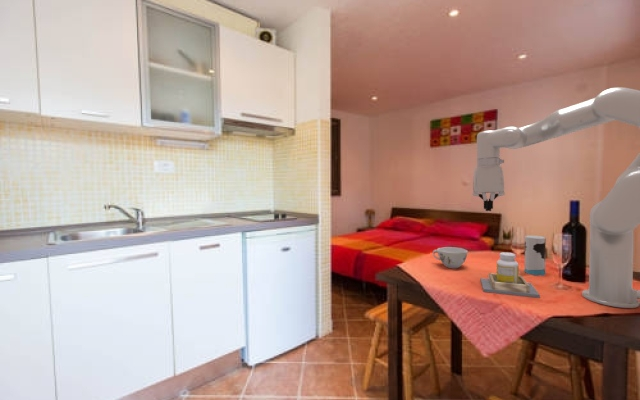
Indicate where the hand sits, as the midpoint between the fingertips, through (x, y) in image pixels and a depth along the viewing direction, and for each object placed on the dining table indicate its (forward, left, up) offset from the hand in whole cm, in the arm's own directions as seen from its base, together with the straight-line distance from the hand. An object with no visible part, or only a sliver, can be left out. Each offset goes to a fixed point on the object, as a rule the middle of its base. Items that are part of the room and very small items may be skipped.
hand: (488, 210), depth 111 cm
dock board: (-5, +9, -27) cm, 29 cm away
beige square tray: (-5, +9, -27) cm, 29 cm away
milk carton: (-18, -14, -27) cm, 36 cm away
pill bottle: (-5, +9, -26) cm, 28 cm away
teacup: (+14, -14, -27) cm, 34 cm away
